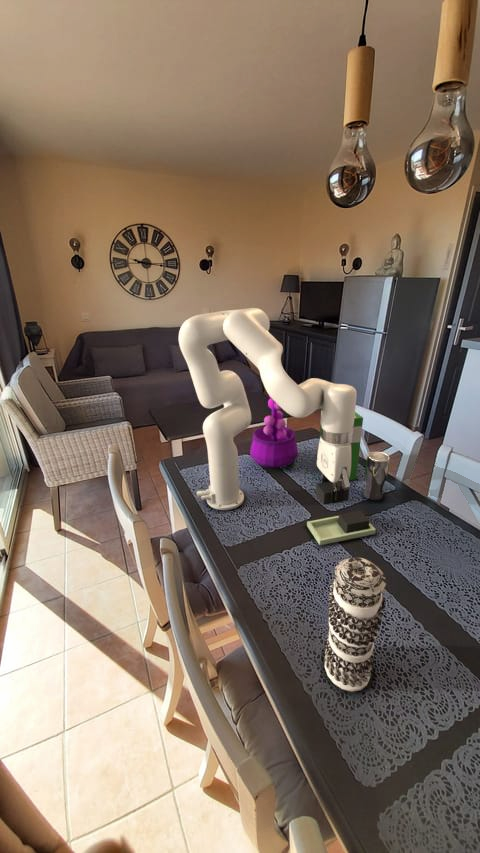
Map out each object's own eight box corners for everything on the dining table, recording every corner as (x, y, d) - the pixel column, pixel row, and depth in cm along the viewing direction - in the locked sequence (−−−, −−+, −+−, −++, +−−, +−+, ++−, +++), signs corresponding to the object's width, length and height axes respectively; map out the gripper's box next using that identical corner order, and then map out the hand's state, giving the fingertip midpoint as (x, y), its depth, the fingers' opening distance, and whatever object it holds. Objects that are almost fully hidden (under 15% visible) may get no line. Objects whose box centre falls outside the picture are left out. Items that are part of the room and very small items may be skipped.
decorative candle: (340, 636, 75) (351, 541, 65) (381, 669, 69) (401, 569, 59) (312, 665, 70) (320, 566, 60) (354, 705, 63) (371, 601, 53)
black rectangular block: (323, 504, 94) (324, 493, 92) (315, 494, 98) (316, 483, 97) (348, 500, 95) (349, 489, 94) (339, 490, 99) (340, 479, 98)
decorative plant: (245, 454, 151) (243, 385, 139) (287, 448, 155) (288, 380, 143) (258, 477, 134) (257, 400, 122) (304, 469, 138) (308, 395, 126)
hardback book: (318, 458, 145) (321, 402, 136) (335, 456, 146) (340, 400, 137) (337, 481, 129) (342, 419, 120) (356, 479, 130) (363, 417, 121)
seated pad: (346, 534, 103) (347, 524, 101) (337, 523, 107) (338, 514, 106) (368, 530, 104) (369, 520, 103) (359, 519, 109) (360, 510, 107)
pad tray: (319, 546, 99) (320, 540, 99) (306, 527, 107) (307, 521, 106) (375, 535, 103) (375, 529, 102) (358, 516, 111) (359, 511, 110)
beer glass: (385, 502, 117) (392, 462, 111) (363, 500, 118) (368, 460, 112) (382, 491, 123) (388, 452, 117) (361, 489, 124) (365, 450, 118)
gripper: (308, 423, 96) (305, 481, 103) (339, 451, 81) (333, 517, 88) (334, 420, 98) (329, 477, 105) (369, 447, 82) (361, 512, 90)
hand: (331, 495), depth 96 cm, fingers closed on black rectangular block, 5 cm apart
